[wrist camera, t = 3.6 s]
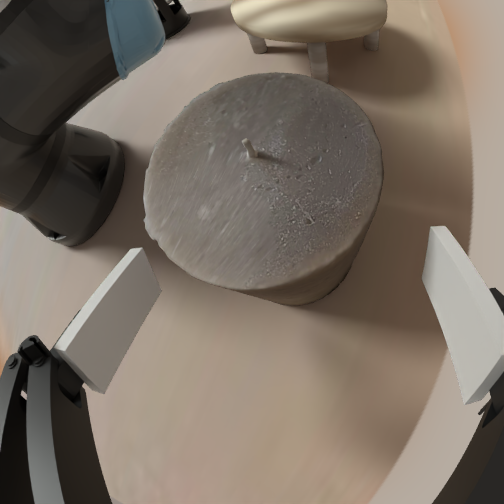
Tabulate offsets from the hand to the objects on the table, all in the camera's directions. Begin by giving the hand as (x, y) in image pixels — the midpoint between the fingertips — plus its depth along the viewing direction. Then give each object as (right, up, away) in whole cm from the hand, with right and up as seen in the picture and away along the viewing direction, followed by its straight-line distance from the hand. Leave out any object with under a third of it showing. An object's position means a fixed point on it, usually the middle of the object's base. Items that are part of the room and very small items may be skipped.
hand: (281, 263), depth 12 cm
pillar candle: (+2, +1, +11) cm, 11 cm away
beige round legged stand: (+7, +26, +15) cm, 31 cm away
